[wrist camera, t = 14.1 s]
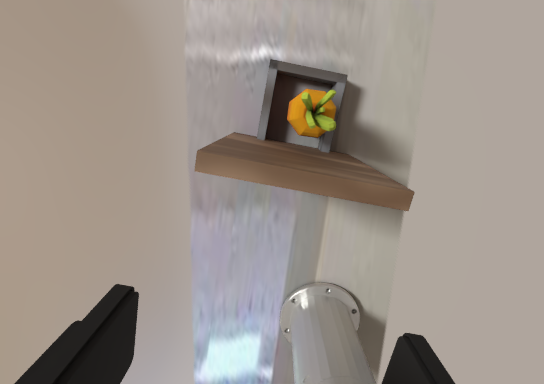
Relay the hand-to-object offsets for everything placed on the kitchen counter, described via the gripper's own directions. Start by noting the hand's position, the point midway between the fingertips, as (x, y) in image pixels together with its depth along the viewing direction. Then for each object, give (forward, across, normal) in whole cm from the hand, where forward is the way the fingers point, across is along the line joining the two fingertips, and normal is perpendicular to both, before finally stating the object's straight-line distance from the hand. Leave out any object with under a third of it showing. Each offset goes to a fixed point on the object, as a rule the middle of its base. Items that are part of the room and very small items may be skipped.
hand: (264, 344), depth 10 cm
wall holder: (+32, -2, -9) cm, 34 cm away
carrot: (+32, -2, -8) cm, 34 cm away
